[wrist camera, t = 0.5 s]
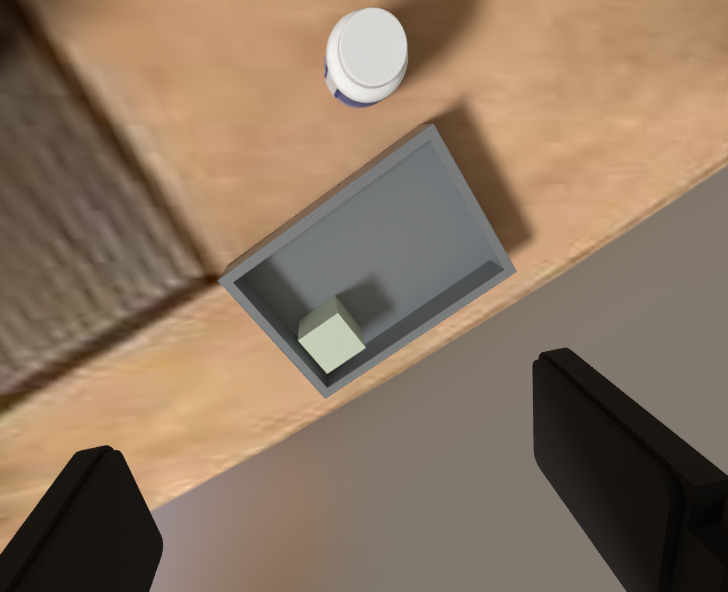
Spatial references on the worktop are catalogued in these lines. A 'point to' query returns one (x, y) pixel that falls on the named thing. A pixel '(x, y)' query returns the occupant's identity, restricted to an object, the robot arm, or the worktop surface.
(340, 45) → the pill bottle
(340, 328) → the sage block
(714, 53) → the worktop surface
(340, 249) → the bin
